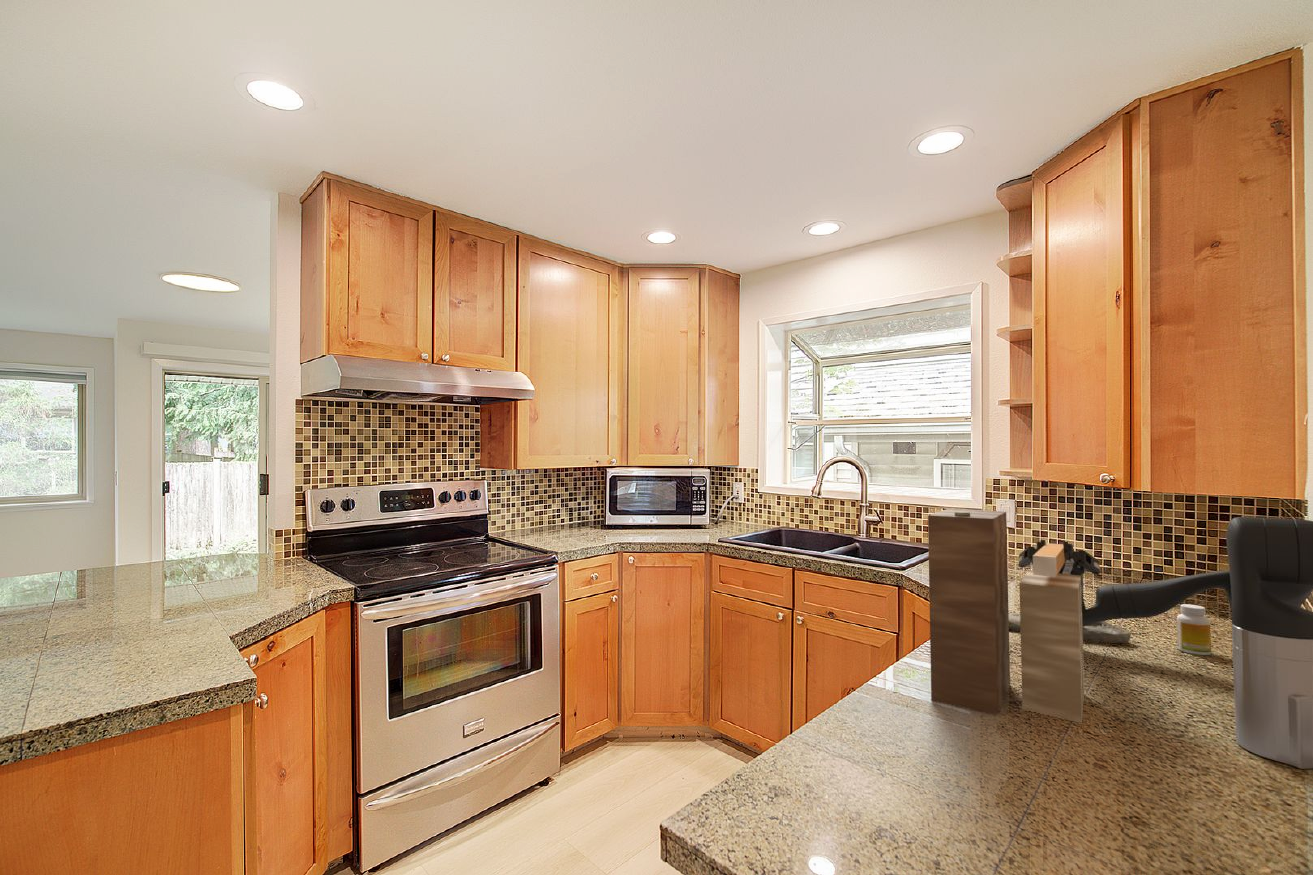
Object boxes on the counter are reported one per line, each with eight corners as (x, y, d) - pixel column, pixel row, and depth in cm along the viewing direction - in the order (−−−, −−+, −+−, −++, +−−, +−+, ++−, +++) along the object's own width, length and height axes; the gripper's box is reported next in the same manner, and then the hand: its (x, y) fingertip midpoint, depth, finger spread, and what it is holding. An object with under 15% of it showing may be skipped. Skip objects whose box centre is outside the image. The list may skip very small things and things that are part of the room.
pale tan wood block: (1046, 559, 114) (1046, 543, 114) (1065, 560, 112) (1065, 544, 112) (1033, 574, 93) (1032, 555, 94) (1056, 577, 92) (1055, 557, 92)
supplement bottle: (1218, 656, 124) (1216, 610, 124) (1188, 654, 125) (1186, 608, 126) (1200, 648, 129) (1198, 603, 130) (1171, 646, 130) (1170, 602, 131)
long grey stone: (962, 620, 157) (956, 631, 149) (960, 601, 158) (954, 610, 149) (1129, 636, 137) (1132, 650, 129) (1127, 613, 137) (1130, 626, 129)
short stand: (1031, 684, 109) (1028, 570, 110) (1084, 694, 104) (1081, 575, 105) (1022, 709, 98) (1019, 583, 99) (1081, 722, 93) (1078, 589, 94)
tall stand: (950, 673, 115) (947, 505, 116) (1010, 685, 109) (1006, 508, 110) (931, 700, 102) (927, 511, 103) (997, 715, 96) (992, 515, 97)
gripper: (1021, 557, 127) (1011, 523, 115) (1103, 564, 118) (1101, 529, 107) (1019, 591, 123) (1009, 560, 112) (1103, 600, 115) (1101, 568, 103)
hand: (1054, 545), depth 109 cm, fingers closed on pale tan wood block, 3 cm apart
